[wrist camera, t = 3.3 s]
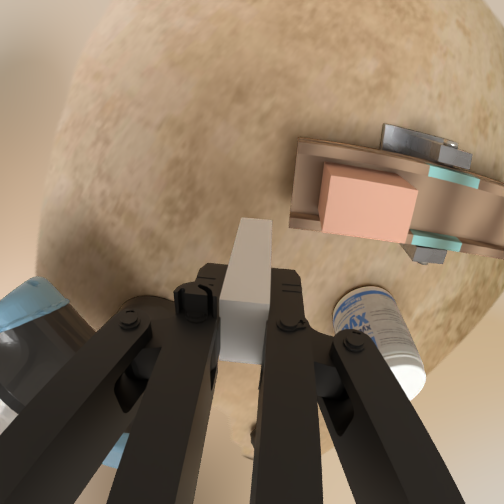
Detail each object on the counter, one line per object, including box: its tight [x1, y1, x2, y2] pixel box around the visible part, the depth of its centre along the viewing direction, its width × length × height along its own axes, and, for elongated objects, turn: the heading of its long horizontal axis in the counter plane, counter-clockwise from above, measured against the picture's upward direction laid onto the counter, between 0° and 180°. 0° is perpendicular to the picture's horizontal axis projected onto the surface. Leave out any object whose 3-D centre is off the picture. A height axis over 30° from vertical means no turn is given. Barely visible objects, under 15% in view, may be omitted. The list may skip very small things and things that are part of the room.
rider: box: [318, 161, 418, 244], centre depth 24 cm, size 7×4×6 cm, turn 86°
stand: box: [380, 124, 472, 265], centre depth 29 cm, size 10×13×8 cm
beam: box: [289, 137, 504, 259], centre depth 28 cm, size 30×8×8 cm, turn 86°
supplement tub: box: [333, 286, 426, 400], centre depth 35 cm, size 10×10×15 cm
